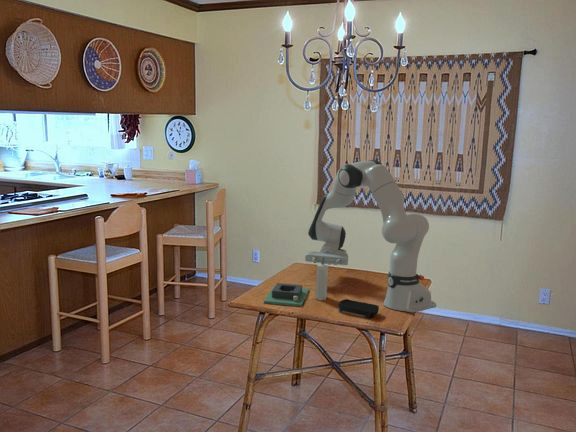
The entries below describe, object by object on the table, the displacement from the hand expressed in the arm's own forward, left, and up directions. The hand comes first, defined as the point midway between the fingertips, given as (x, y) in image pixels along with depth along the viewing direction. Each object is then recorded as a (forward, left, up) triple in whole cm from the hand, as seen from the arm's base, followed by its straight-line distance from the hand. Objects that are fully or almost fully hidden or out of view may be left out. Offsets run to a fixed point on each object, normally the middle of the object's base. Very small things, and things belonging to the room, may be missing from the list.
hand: (325, 262), depth 238 cm
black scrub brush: (0, +31, -13) cm, 34 cm away
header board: (+20, +4, -13) cm, 24 cm away
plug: (+7, +10, -13) cm, 18 cm away
